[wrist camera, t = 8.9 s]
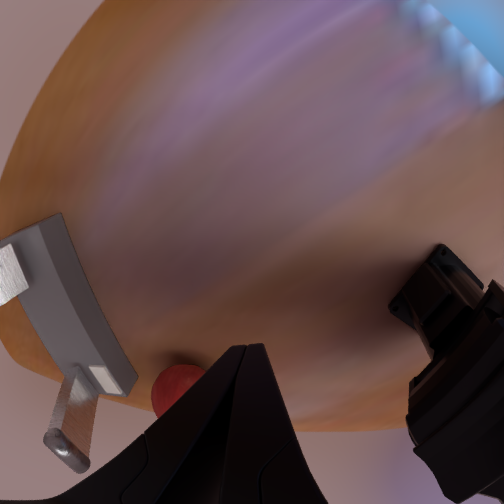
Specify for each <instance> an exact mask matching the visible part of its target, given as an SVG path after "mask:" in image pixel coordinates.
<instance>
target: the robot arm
mask: <svg viewBox="0 0 504 504" xmlns="http://www.w3.org/2000/svg"><path fill="white" fill-rule="evenodd" d="M442 250H444V252H443V253H442V254H441V251H442ZM488 287H489V288H488V290H487V291H486V293H484V292H483V291H482V290H483V288H484V285H483V283H482V282H481V281H480V280H479V279H478V278H477V277H476V276H475V275H474V274H473V272H472V271H471V270H470V269H469V268H468V267H467V266H466V265H465V264H464V263H463V262H462V261H461V260H460V259H459V258H458V257H457V256H456V255H455V254H454V253H453V252H452V251H451V250H450V249H449V248H448V247H447V246H446V245H444V244H441V245H439V246H438V247H437V248H436V249H435V251H434V252H433V253H432V254H431V256H430V257H429V258H428V259H427V261H426V262H425V263H424V264H423V265H422V266H421V267H420V268H419V269H418V271H417V272H416V273H415V274H414V275H413V277H412V278H411V279H410V280H409V281H408V282H407V284H406V285H405V286H404V287H403V288H402V290H401V291H400V292H399V293H398V295H397V296H396V297H395V298H394V299H393V300H392V301H391V302H390V304H389V306H388V308H389V311H390V312H391V313H392V314H393V315H394V316H396V317H397V318H399V319H400V320H402V321H403V322H405V323H406V324H408V325H409V326H411V327H412V328H414V329H415V330H416V331H417V332H418V334H419V336H420V338H421V340H422V342H423V344H424V346H425V348H426V351H427V353H428V355H429V357H430V359H431V362H430V363H429V364H428V365H427V366H426V368H425V369H424V370H423V371H422V372H421V373H420V374H419V375H418V376H417V377H414V378H413V379H412V380H411V381H410V382H409V399H408V403H409V406H408V414H407V415H406V424H407V427H408V431H409V435H410V437H411V440H412V441H413V443H414V444H415V446H416V447H415V448H413V452H414V453H415V454H416V455H417V456H418V457H420V458H421V459H422V460H423V461H424V462H425V463H426V464H427V466H428V467H429V468H430V470H431V471H432V472H433V474H434V476H435V478H436V479H437V482H438V484H439V486H440V488H441V490H442V492H443V494H444V496H445V497H447V498H448V499H450V500H451V501H453V502H454V503H456V504H460V503H462V502H464V501H465V500H467V499H469V498H470V497H472V496H474V495H475V494H481V495H484V496H488V497H492V498H496V499H498V500H499V501H500V502H501V504H504V287H502V286H501V285H500V284H499V283H497V282H496V281H495V280H493V279H492V281H491V282H490V284H489V285H488ZM394 306H397V307H396V308H394V309H393V307H394ZM0 504H328V502H327V500H326V499H325V497H324V495H323V494H322V492H321V490H320V489H319V487H318V485H317V483H316V481H315V480H314V478H313V476H312V474H311V472H310V470H309V467H308V465H307V463H306V460H305V458H304V456H303V453H302V450H301V448H300V445H299V442H298V440H297V437H296V434H295V431H294V429H293V426H292V423H291V420H290V418H289V415H288V412H287V409H286V406H285V403H284V401H283V398H282V395H281V392H280V389H279V386H278V383H277V381H276V378H275V375H274V372H273V369H272V366H271V363H270V360H269V358H268V355H267V352H266V349H265V346H264V344H263V343H256V344H249V345H248V346H247V345H235V346H231V347H230V348H229V349H228V350H227V351H226V352H225V353H224V354H223V355H222V356H221V357H220V358H219V359H218V360H217V361H216V362H215V363H214V364H213V365H212V366H211V367H210V368H209V369H208V370H207V371H206V372H205V373H204V374H203V375H202V376H201V377H200V378H199V379H198V380H197V381H196V382H195V383H194V384H193V385H192V386H191V387H190V388H189V389H188V390H187V391H186V392H185V393H184V394H183V395H182V396H181V397H180V398H179V399H178V400H177V401H176V402H175V403H174V404H173V405H172V406H171V407H170V408H169V409H168V410H167V411H166V412H165V413H163V414H162V415H161V416H160V417H159V418H158V419H157V420H156V421H155V422H154V423H153V424H152V425H151V426H150V427H149V428H148V429H147V430H146V431H144V434H141V435H140V436H139V437H138V438H137V439H136V440H134V441H133V442H132V443H131V444H130V445H129V446H128V447H127V448H125V449H124V450H123V451H122V452H121V453H120V454H118V455H117V456H116V457H115V458H113V459H112V460H111V461H109V462H108V463H107V464H105V465H104V466H103V467H101V468H100V469H99V470H97V471H96V472H94V473H93V474H91V475H90V476H88V477H87V478H85V479H84V480H82V481H81V482H79V483H78V484H76V485H75V486H73V487H72V488H70V489H69V490H67V491H66V492H64V493H62V494H60V495H58V496H55V497H53V498H49V499H43V500H0Z"/></svg>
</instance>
